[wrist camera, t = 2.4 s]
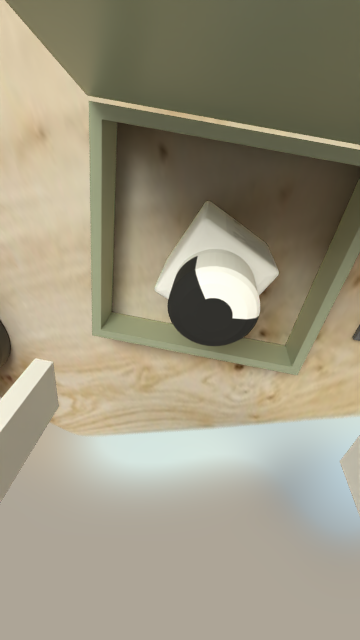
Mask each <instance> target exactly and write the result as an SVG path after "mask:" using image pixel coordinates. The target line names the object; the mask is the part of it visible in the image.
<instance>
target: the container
mask: <svg viewBox="0 0 360 640" xmlns="http://www.w3.org/2000/svg"><path fill="white" fill-rule="evenodd" d="M278 275H279V271H278V268H277V266H276V264H275V261H274V259H273V257H272V254H271V252H270V250H269V247H268V245H267V244H266V243H265V242H264V241H263V240H261V239H260V238H259V237H257V236H256V235H255V234H253V233H252V232H251V231H249V230H248V229H247V228H245V227H244V226H243V225H241V224H240V223H239V222H237V221H236V220H235V219H233V218H232V217H231V216H229V215H228V214H227V213H225V212H224V211H223V210H221V209H220V208H219V207H217V206H216V205H215V204H213V203H212V202H211V201H206V202H205V203H204V205H203V206H202V208H201V209H200V211H199V212H198V214H197V215H196V217H195V218H194V220H193V221H192V223H191V224H190V226H189V227H188V229H187V230H186V231H185V233H184V234H183V236H182V237H181V239H180V240H179V242H178V243H177V245H176V246H175V248H174V249H173V251H172V252H171V254H170V255H169V257H168V258H167V260H166V262H165V265H164V267H163V269H162V272H161V274H160V276H159V278H158V281H157V283H156V285H155V291H156V292H157V293H158V294H160V295H162V296H163V297H165V298H166V299H168V313H169V317H170V320H171V322H172V324H173V325H174V327H175V328H176V329H177V331H178V332H179V333H180V334H181V335H183V336H184V337H185V338H187V339H189V340H190V341H192V342H195V343H197V344H201V345H206V346H223V345H227V344H231V343H234V342H236V341H238V340H240V339H242V338H243V337H244V336H246V335H247V334H248V333H249V332H250V331H251V330H252V328H253V327H254V326H255V324H256V322H257V320H258V317H259V313H260V299H259V295H260V294H261V293H262V292H263V291H264V290H265V289H266V288H267V287H268V286H269V285H270V284H271V283H272V282H273V281H274V279H275V278H276V277H277V276H278Z"/></svg>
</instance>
